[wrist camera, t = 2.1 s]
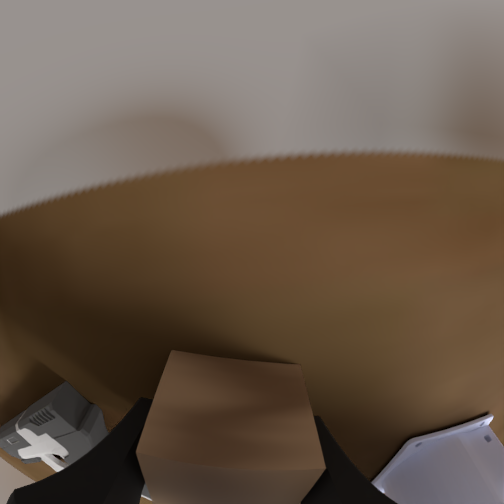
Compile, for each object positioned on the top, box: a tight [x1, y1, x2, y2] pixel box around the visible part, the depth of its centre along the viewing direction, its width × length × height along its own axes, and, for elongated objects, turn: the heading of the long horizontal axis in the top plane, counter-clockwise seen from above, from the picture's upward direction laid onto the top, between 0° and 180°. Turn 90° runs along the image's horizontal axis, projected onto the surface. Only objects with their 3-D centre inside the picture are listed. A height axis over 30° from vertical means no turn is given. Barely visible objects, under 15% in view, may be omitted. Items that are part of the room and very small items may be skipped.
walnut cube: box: [136, 350, 326, 504], centre depth 9 cm, size 5×5×5 cm
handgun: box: [0, 381, 152, 501], centre depth 13 cm, size 2×18×12 cm
